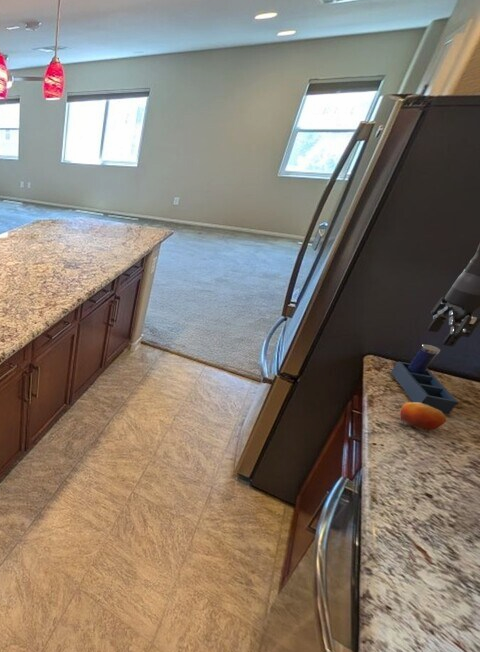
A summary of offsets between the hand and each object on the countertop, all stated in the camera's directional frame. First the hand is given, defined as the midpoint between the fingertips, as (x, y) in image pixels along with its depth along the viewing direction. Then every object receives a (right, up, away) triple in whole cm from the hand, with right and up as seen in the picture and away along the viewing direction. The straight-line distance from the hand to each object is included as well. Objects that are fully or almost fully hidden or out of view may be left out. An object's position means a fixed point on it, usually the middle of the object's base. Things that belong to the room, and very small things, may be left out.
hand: (439, 337), depth 114 cm
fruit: (-16, -24, -7) cm, 30 cm away
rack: (-2, -17, +4) cm, 17 cm away
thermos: (0, -13, +8) cm, 16 cm away
